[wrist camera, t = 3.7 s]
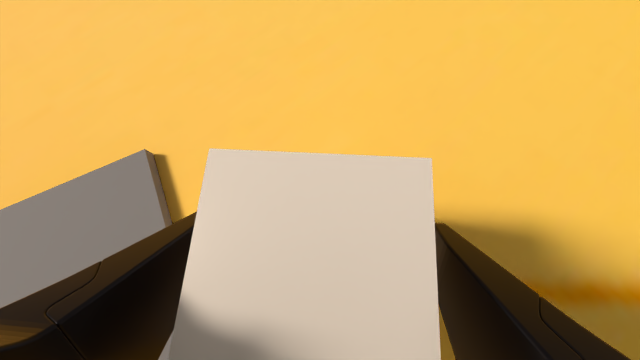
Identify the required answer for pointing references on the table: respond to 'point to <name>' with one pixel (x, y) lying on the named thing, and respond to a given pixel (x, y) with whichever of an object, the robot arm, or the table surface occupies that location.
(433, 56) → the table surface
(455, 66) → the table surface
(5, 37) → the table surface
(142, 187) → the mat
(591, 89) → the table surface
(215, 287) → the white tall block
